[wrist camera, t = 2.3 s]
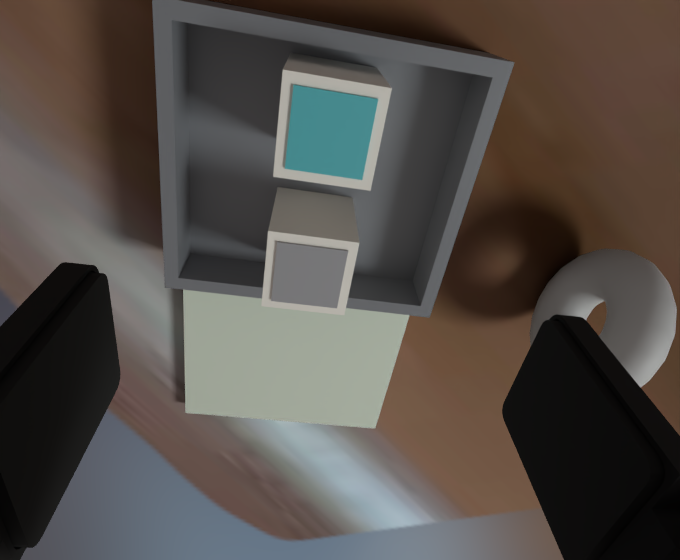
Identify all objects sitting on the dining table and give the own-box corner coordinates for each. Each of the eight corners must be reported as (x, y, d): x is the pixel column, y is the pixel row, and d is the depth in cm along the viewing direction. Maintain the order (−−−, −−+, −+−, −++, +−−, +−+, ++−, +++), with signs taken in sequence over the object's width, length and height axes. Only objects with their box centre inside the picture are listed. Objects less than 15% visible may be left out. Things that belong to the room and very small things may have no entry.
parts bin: (176, -6, 23) (151, -5, 20) (488, 52, 25) (514, 62, 22) (181, 255, 31) (164, 287, 28) (418, 284, 33) (429, 317, 30)
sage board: (186, 273, 32) (182, 280, 31) (409, 299, 34) (411, 307, 33) (188, 403, 39) (185, 412, 38) (374, 419, 40) (375, 428, 40)
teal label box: (290, 52, 24) (282, 70, 19) (377, 68, 24) (392, 88, 19) (282, 140, 26) (272, 177, 21) (361, 153, 27) (370, 191, 22)
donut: (583, 215, 31) (683, 300, 22) (623, 231, 31) (735, 320, 23) (501, 326, 35) (558, 431, 27) (538, 338, 36) (605, 444, 28)
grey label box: (277, 187, 28) (267, 231, 23) (352, 197, 28) (359, 244, 23) (271, 253, 30) (261, 307, 25) (340, 261, 31) (344, 316, 25)
